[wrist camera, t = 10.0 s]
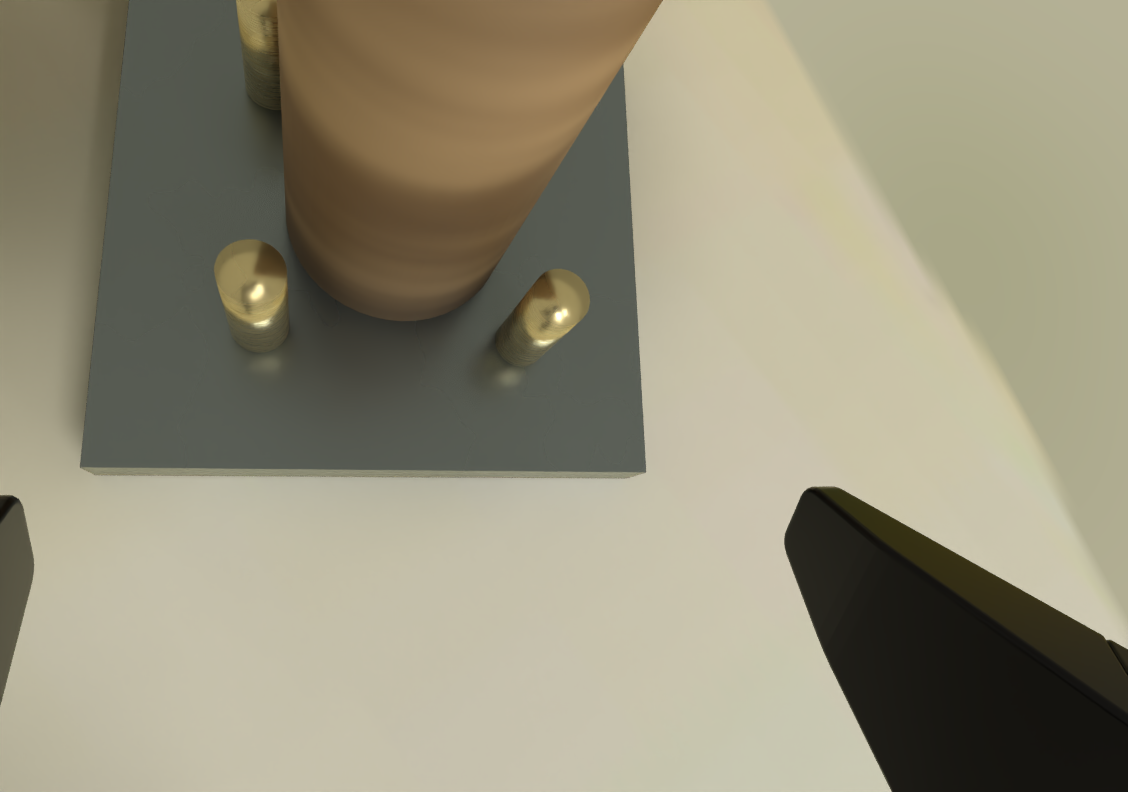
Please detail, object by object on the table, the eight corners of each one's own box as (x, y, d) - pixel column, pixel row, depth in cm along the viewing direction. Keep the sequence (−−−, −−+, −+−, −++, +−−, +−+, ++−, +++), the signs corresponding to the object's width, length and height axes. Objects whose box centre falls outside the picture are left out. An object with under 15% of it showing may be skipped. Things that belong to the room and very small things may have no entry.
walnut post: (461, 354, 18) (786, -98, 6) (248, 266, 17) (117, -506, 5) (528, 178, 20) (891, -460, 8) (336, 88, 18) (404, -831, 6)
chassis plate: (626, 478, 20) (710, 452, 16) (94, 474, 16) (26, 440, 12) (606, 66, 23) (673, -47, 18) (144, -19, 19) (101, -185, 15)
